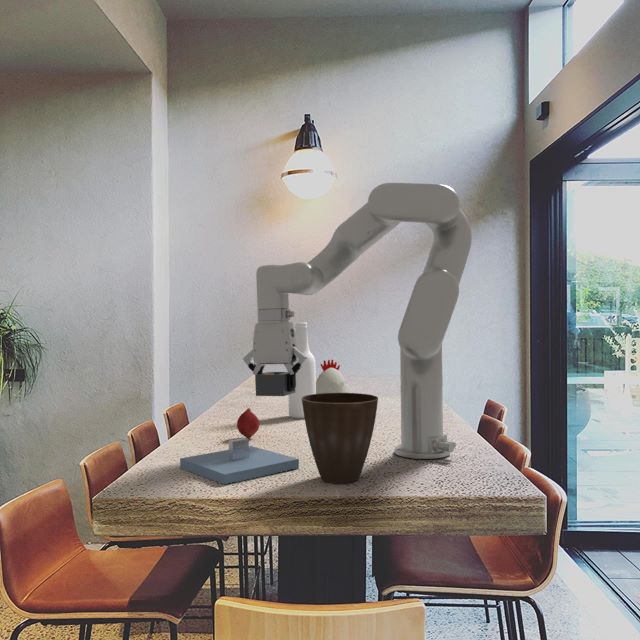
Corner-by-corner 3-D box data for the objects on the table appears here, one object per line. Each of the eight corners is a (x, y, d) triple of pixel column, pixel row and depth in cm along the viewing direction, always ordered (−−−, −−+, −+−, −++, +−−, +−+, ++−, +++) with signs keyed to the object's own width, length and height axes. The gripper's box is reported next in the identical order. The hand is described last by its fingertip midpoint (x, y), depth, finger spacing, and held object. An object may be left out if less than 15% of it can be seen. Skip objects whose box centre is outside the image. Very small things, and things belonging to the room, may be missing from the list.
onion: (238, 441, 156) (238, 410, 156) (235, 437, 161) (235, 407, 161) (261, 439, 157) (260, 409, 157) (257, 435, 163) (257, 406, 163)
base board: (298, 468, 127) (298, 458, 127) (224, 484, 115) (224, 474, 115) (250, 454, 141) (250, 445, 141) (180, 467, 129) (180, 458, 129)
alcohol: (300, 419, 187) (298, 322, 187) (283, 416, 194) (281, 322, 194) (322, 416, 193) (320, 322, 192) (304, 413, 199) (303, 322, 199)
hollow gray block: (295, 392, 147) (294, 371, 147) (283, 396, 141) (283, 373, 141) (268, 392, 150) (267, 371, 150) (255, 395, 143) (255, 373, 143)
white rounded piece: (307, 397, 240) (307, 359, 240) (338, 394, 246) (338, 357, 246) (322, 401, 228) (322, 361, 228) (355, 398, 234) (354, 359, 234)
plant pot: (374, 468, 126) (373, 391, 126) (384, 488, 111) (382, 401, 111) (302, 470, 126) (301, 393, 126) (303, 490, 111) (301, 403, 111)
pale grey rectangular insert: (249, 457, 129) (248, 439, 129) (232, 460, 126) (232, 441, 126) (244, 456, 130) (244, 437, 130) (228, 459, 127) (228, 440, 127)
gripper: (312, 315, 146) (315, 389, 146) (247, 317, 152) (250, 388, 152) (301, 315, 139) (304, 393, 139) (233, 318, 145) (236, 392, 145)
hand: (275, 390), depth 145 cm, fingers closed on hollow gray block, 7 cm apart
